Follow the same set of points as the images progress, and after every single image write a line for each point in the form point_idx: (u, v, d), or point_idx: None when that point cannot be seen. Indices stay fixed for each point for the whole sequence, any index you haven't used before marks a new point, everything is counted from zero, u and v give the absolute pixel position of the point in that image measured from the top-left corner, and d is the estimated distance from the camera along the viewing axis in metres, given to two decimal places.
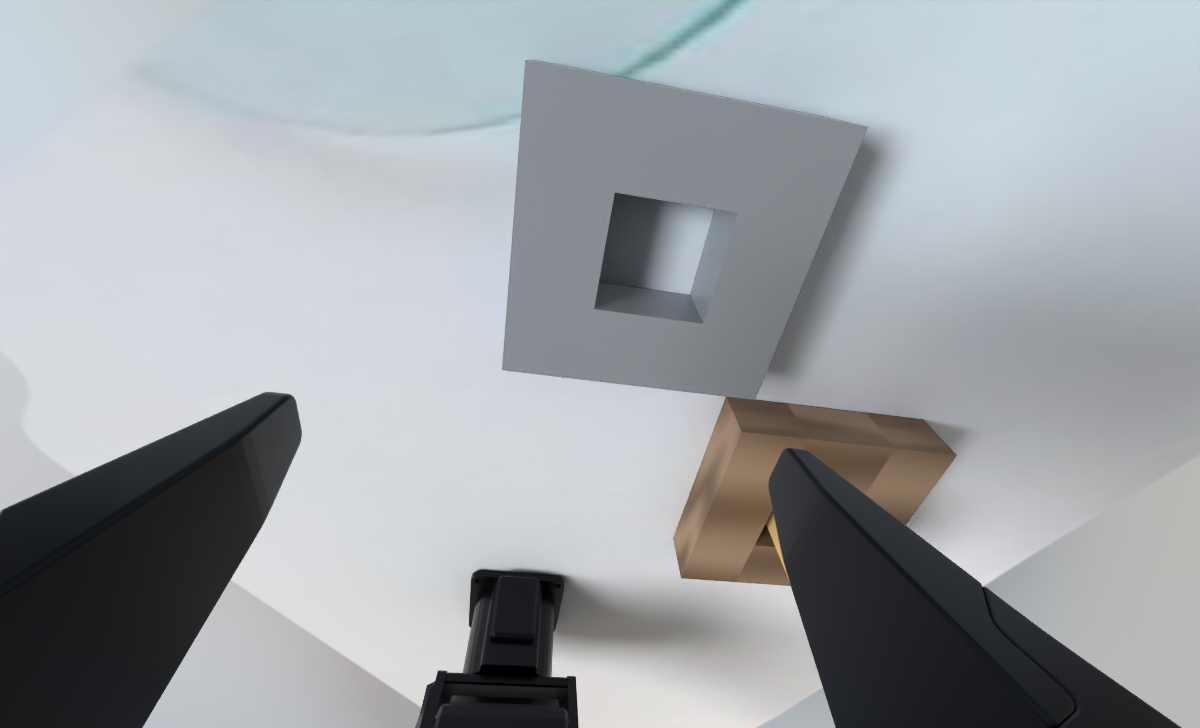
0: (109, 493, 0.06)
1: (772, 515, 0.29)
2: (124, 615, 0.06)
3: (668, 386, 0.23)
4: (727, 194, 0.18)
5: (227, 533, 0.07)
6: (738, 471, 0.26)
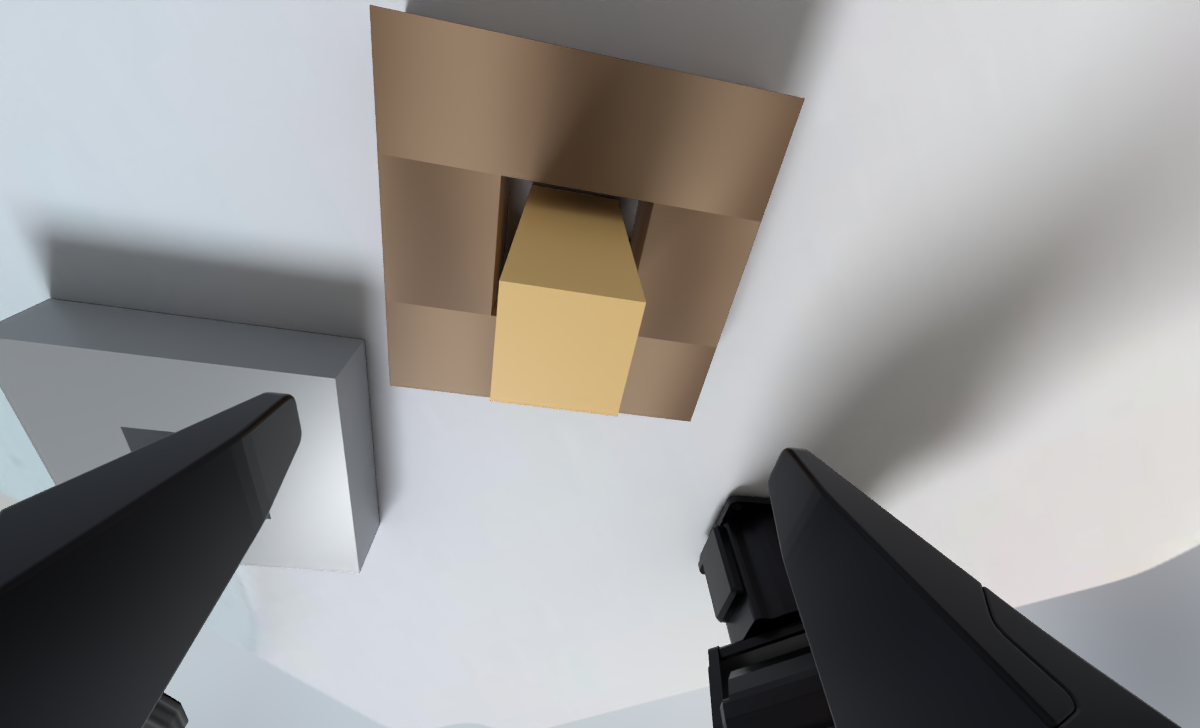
0: (109, 493, 0.06)
1: None
2: (124, 615, 0.06)
3: (341, 461, 0.21)
4: (109, 436, 0.20)
5: (227, 533, 0.07)
6: (461, 379, 0.19)
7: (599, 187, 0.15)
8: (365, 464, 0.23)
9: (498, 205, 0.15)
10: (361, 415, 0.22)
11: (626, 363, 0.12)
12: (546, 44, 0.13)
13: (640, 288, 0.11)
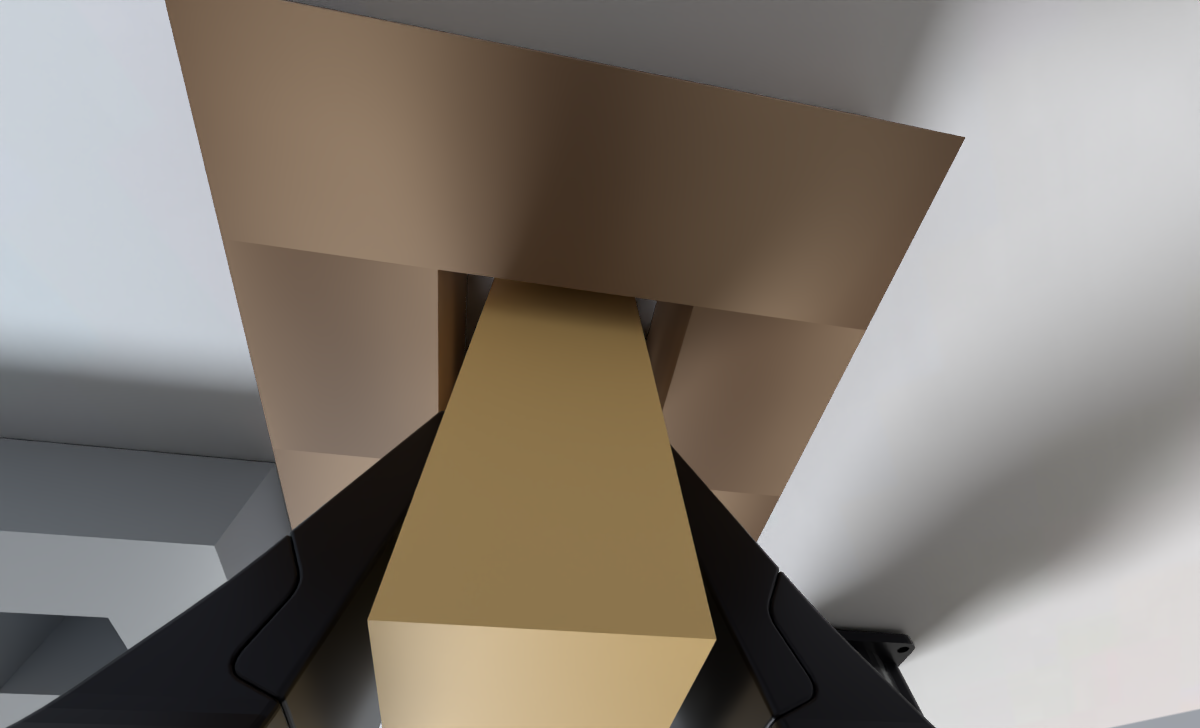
0: (371, 514, 0.06)
1: None
2: None
3: None
4: None
5: None
6: None
7: (604, 284, 0.09)
8: None
9: (437, 313, 0.09)
10: None
11: (666, 717, 0.06)
12: (504, 48, 0.07)
13: (696, 568, 0.05)
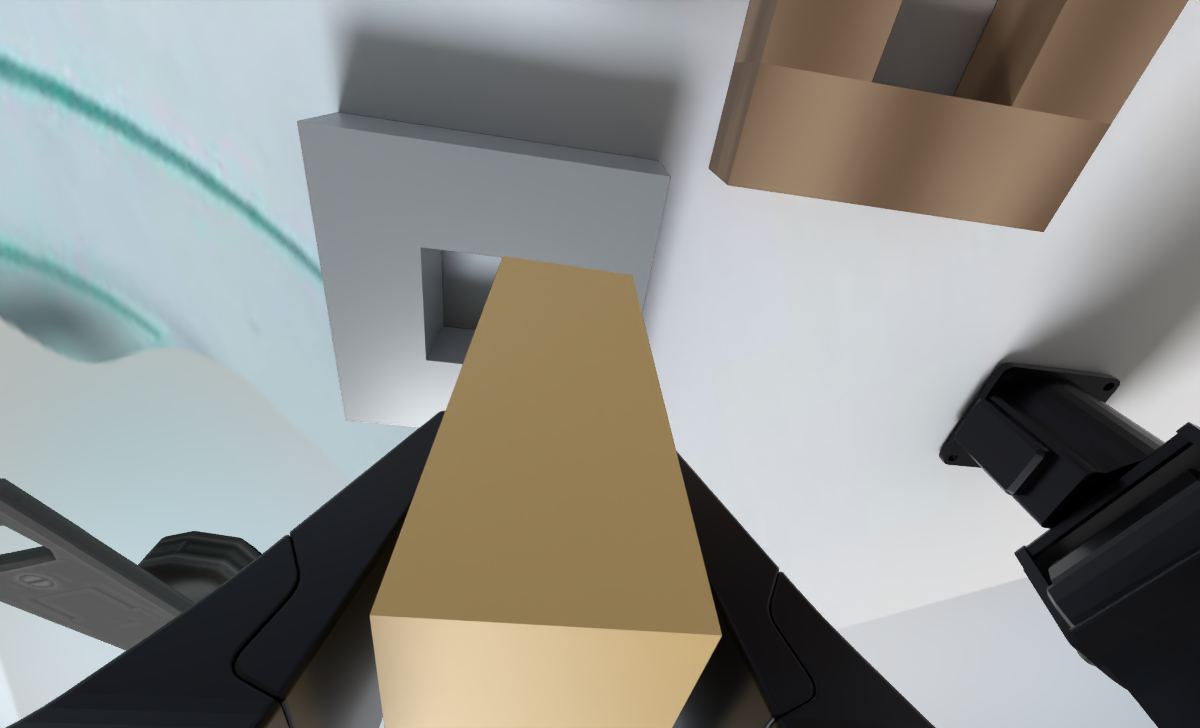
0: (371, 514, 0.06)
1: None
2: None
3: (641, 293, 0.19)
4: (404, 261, 0.18)
5: None
6: (809, 175, 0.17)
7: None
8: None
9: None
10: None
11: (670, 714, 0.05)
12: None
13: (700, 564, 0.05)
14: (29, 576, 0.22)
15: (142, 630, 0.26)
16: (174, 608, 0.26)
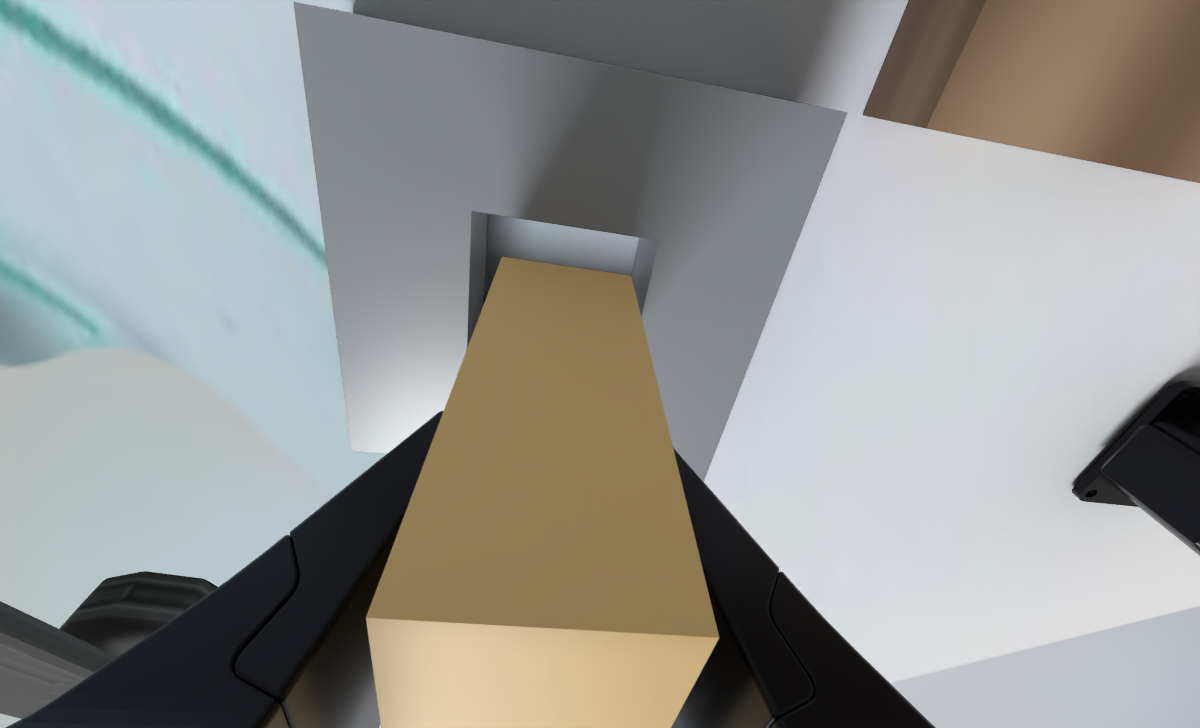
0: (371, 514, 0.06)
1: None
2: None
3: (774, 284, 0.14)
4: (446, 231, 0.12)
5: None
6: (1044, 116, 0.11)
7: None
8: None
9: None
10: None
11: (667, 716, 0.05)
12: None
13: (698, 566, 0.05)
14: None
15: None
16: None
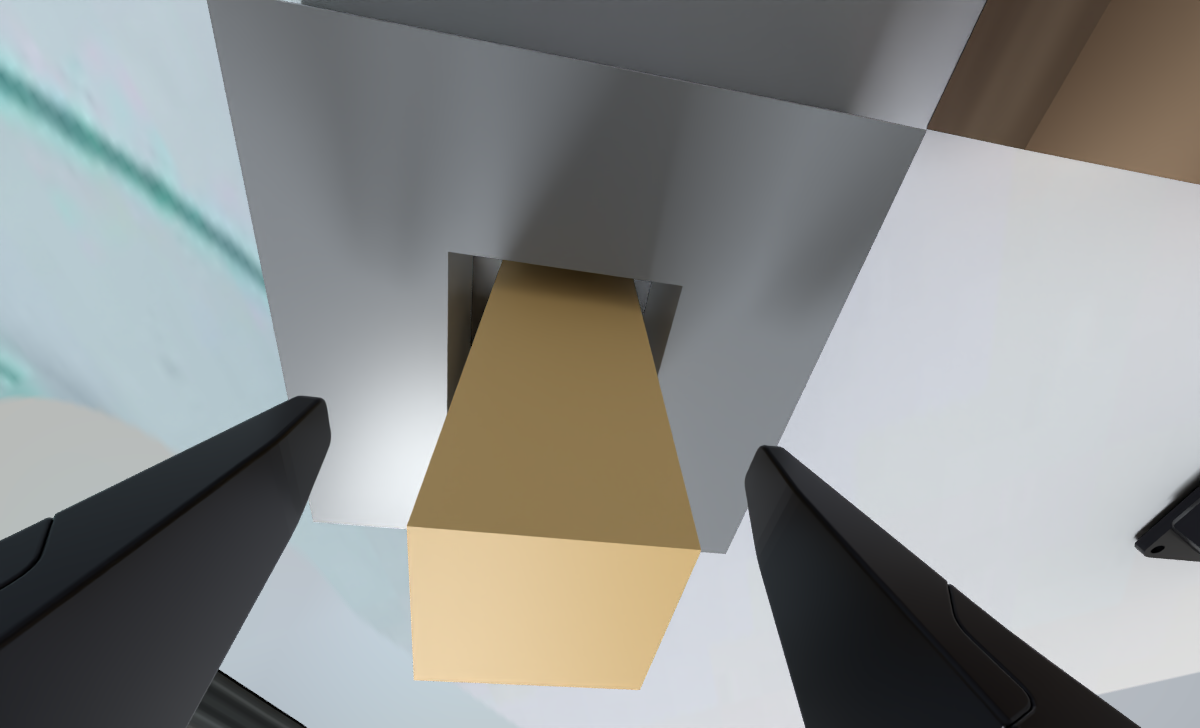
0: (158, 497, 0.06)
1: None
2: (172, 618, 0.06)
3: (821, 336, 0.11)
4: (418, 276, 0.10)
5: (264, 536, 0.07)
6: (1175, 134, 0.09)
7: None
8: None
9: None
10: None
11: (658, 629, 0.06)
12: None
13: (685, 497, 0.06)
14: None
15: None
16: None
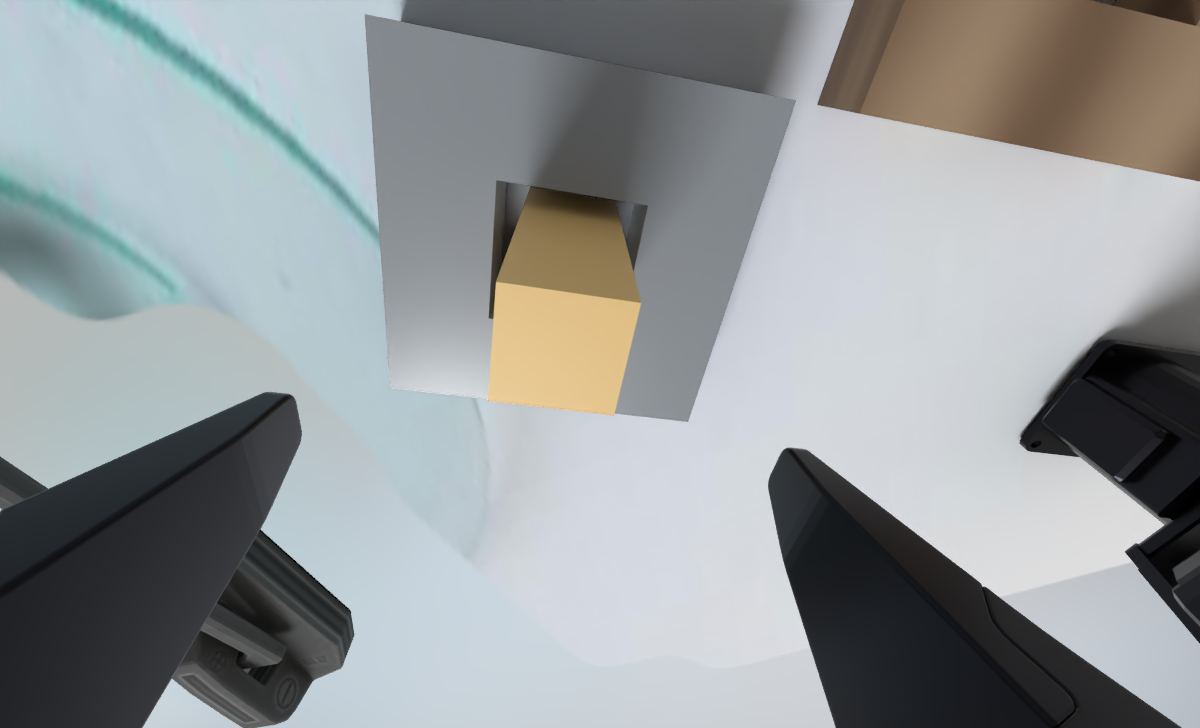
0: (108, 493, 0.06)
1: None
2: (124, 615, 0.06)
3: (742, 243, 0.16)
4: (476, 197, 0.15)
5: (227, 533, 0.07)
6: (953, 103, 0.14)
7: None
8: None
9: None
10: None
11: (622, 363, 0.12)
12: None
13: (635, 288, 0.12)
14: None
15: None
16: None
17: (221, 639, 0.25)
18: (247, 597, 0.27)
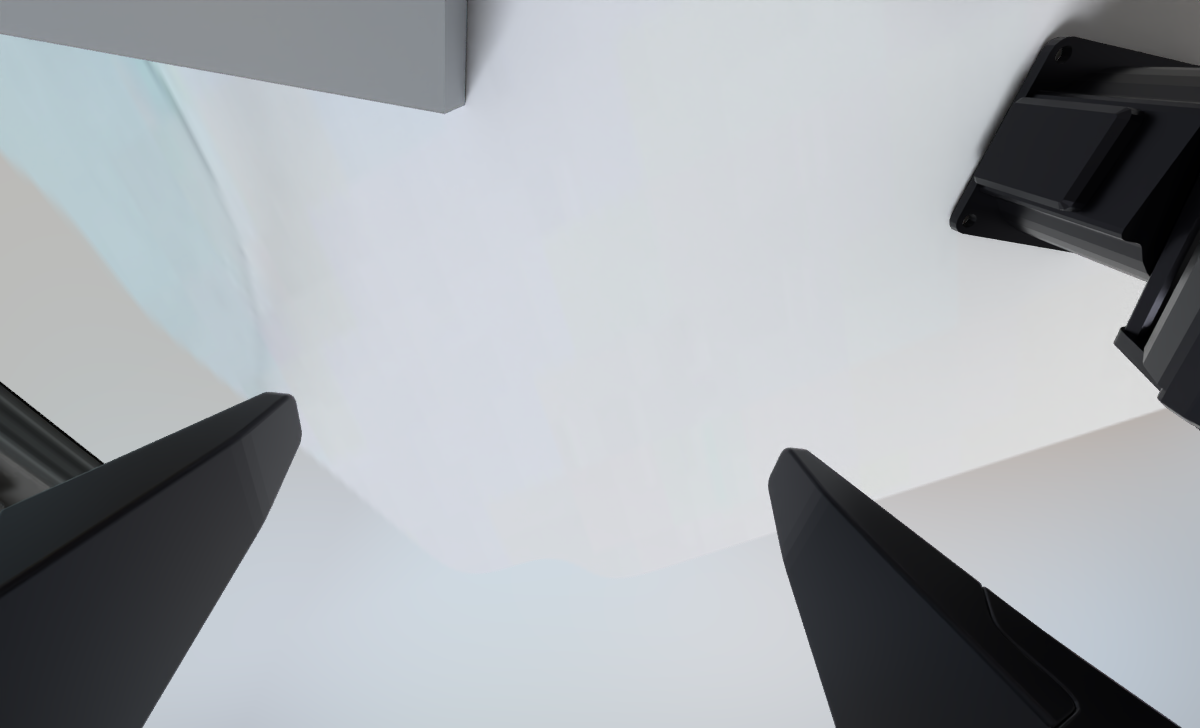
0: (108, 493, 0.06)
1: None
2: (123, 615, 0.06)
3: None
4: None
5: (227, 533, 0.07)
6: None
7: None
8: None
9: None
10: None
11: None
12: None
13: None
14: None
15: None
16: None
17: None
18: None
